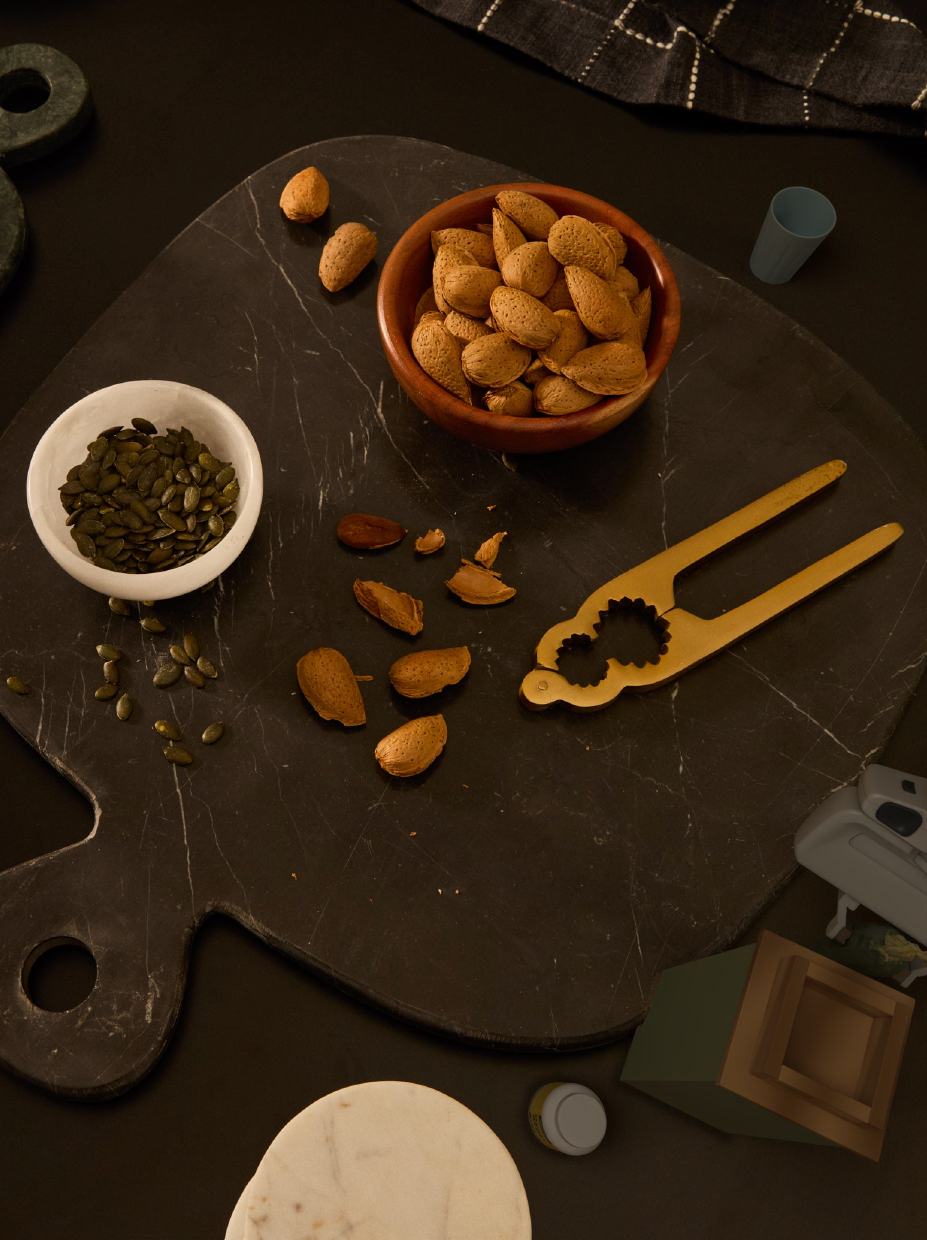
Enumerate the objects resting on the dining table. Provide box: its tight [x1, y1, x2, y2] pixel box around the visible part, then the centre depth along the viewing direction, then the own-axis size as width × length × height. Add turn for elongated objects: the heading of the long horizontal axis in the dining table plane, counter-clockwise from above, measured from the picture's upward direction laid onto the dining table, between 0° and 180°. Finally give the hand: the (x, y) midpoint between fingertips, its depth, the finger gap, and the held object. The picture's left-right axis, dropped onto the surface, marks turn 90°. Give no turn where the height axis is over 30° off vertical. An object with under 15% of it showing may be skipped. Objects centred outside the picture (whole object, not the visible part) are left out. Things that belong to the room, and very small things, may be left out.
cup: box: [749, 186, 837, 285], centre depth 139 cm, size 8×8×10 cm
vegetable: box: [809, 921, 927, 978], centre depth 99 cm, size 4×4×20 cm
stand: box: [619, 942, 841, 1148], centre depth 92 cm, size 10×10×28 cm
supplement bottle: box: [527, 1081, 608, 1157], centre depth 98 cm, size 5×5×10 cm
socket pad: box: [715, 928, 916, 1163], centre depth 78 cm, size 11×11×4 cm
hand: (864, 958), depth 98 cm, fingers closed on vegetable, 4 cm apart
